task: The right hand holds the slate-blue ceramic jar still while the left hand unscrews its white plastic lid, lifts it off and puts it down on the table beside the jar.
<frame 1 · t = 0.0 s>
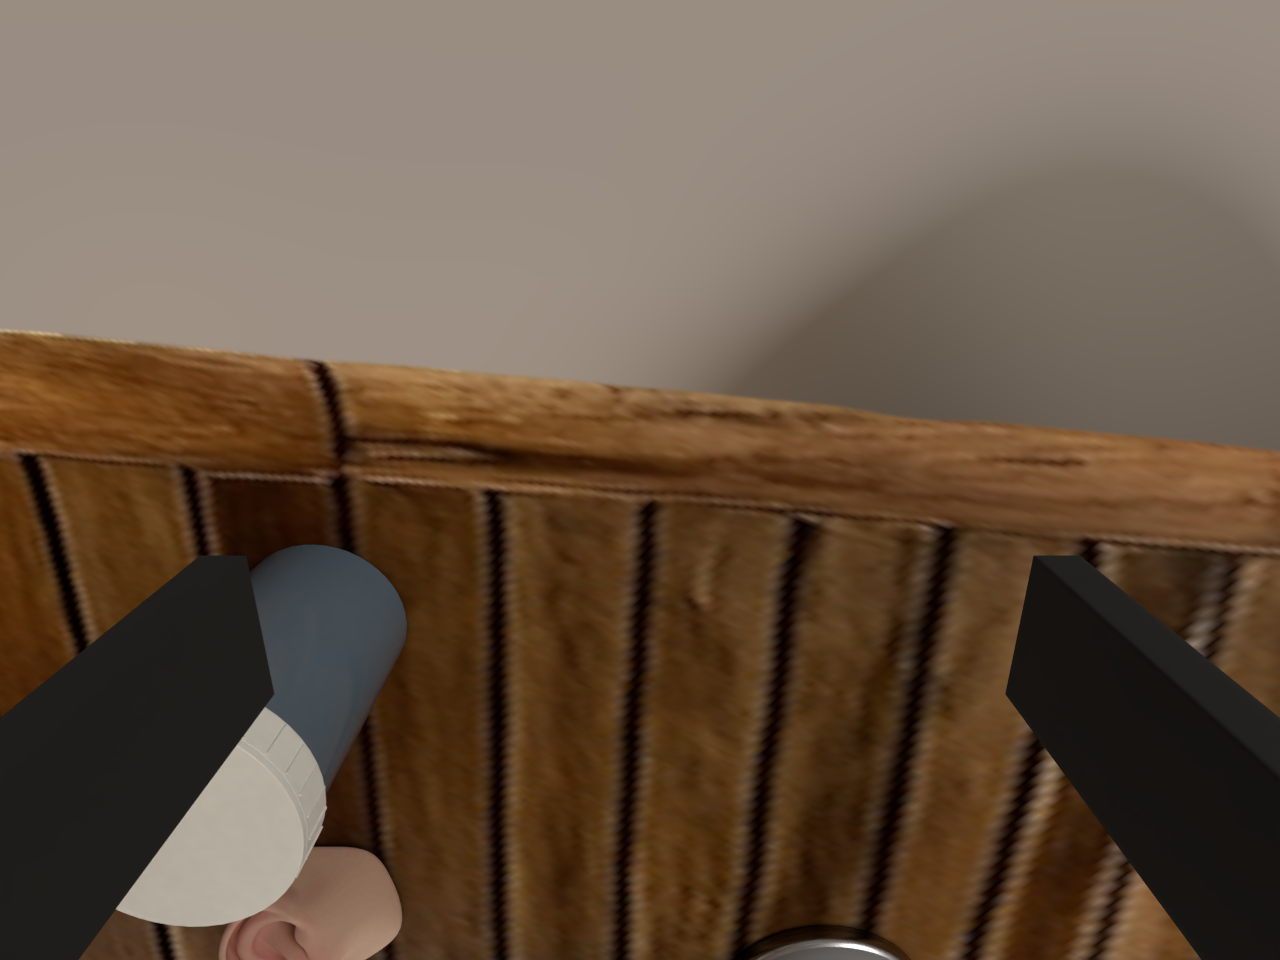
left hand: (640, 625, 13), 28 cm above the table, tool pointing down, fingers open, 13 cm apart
lid: (171, 821, 30), point 16 cm above the table, screwed on, not yet turned
anatomical model: (319, 908, 53), on the table
jar: (324, 618, 45), on the table
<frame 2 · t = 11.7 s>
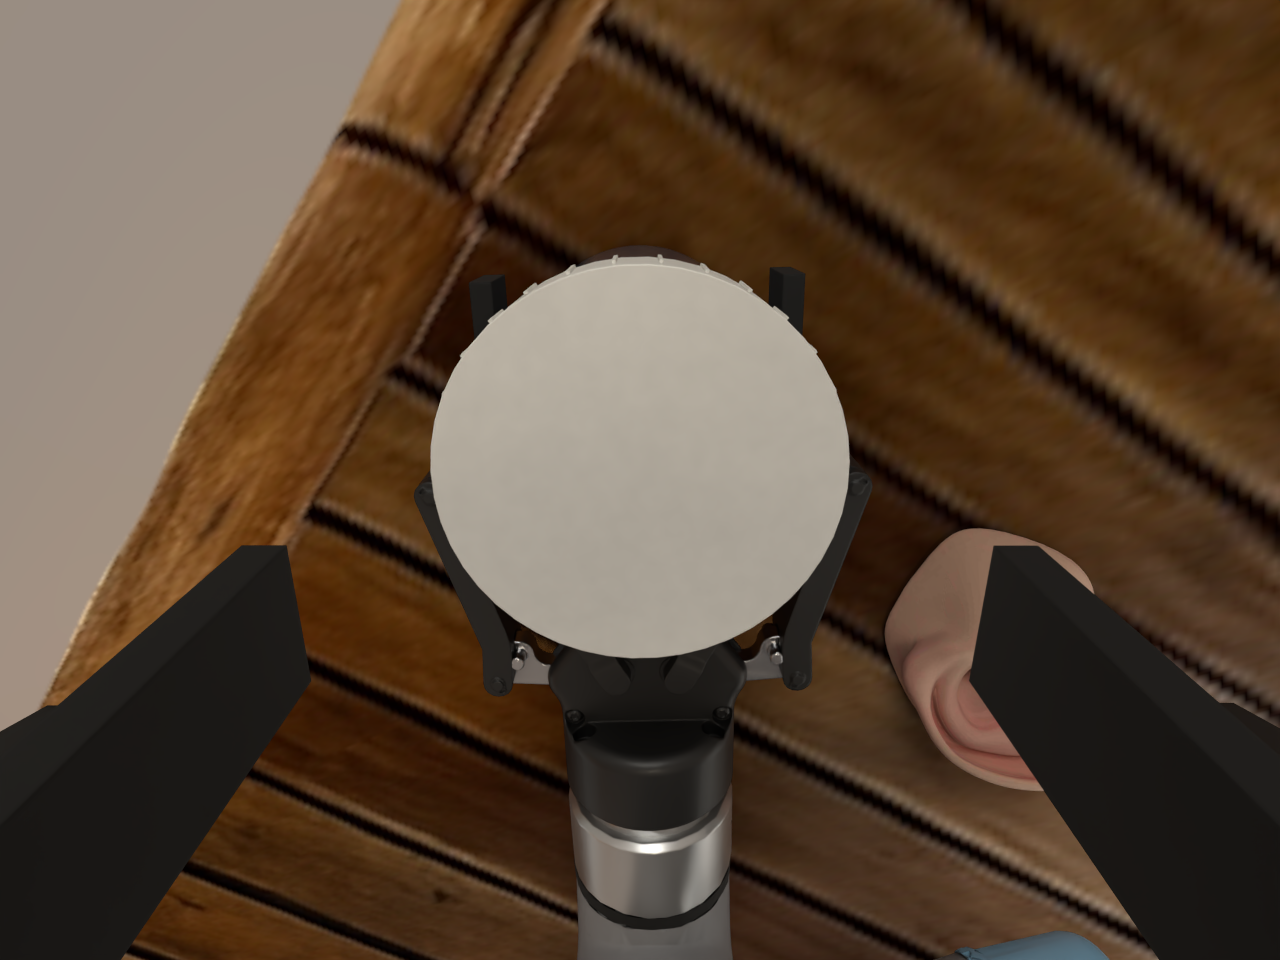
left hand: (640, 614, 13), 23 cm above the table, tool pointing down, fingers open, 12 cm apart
lid: (639, 475, 20), point 16 cm above the table, screwed on, not yet turned
anatomical model: (988, 642, 40), on the table
jar: (640, 358, 34), on the table, touching right hand
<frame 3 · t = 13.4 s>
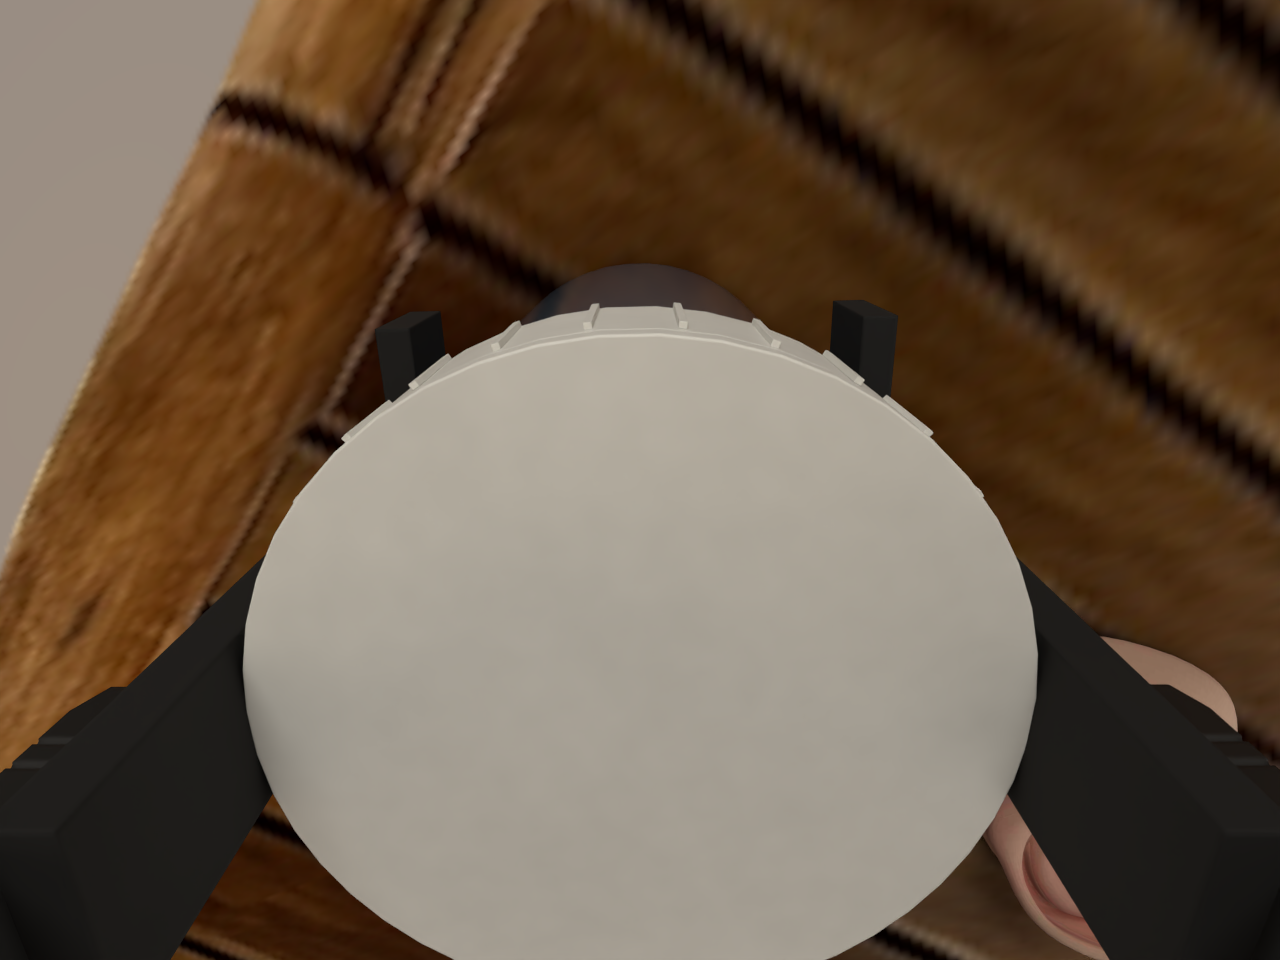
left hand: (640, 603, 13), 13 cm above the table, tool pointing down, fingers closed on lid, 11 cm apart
lid: (640, 711, 11), point 16 cm above the table, screwed on, not yet turned, touching left hand
anatomical model: (1092, 774, 31), on the table
jar: (640, 415, 25), on the table, touching right hand
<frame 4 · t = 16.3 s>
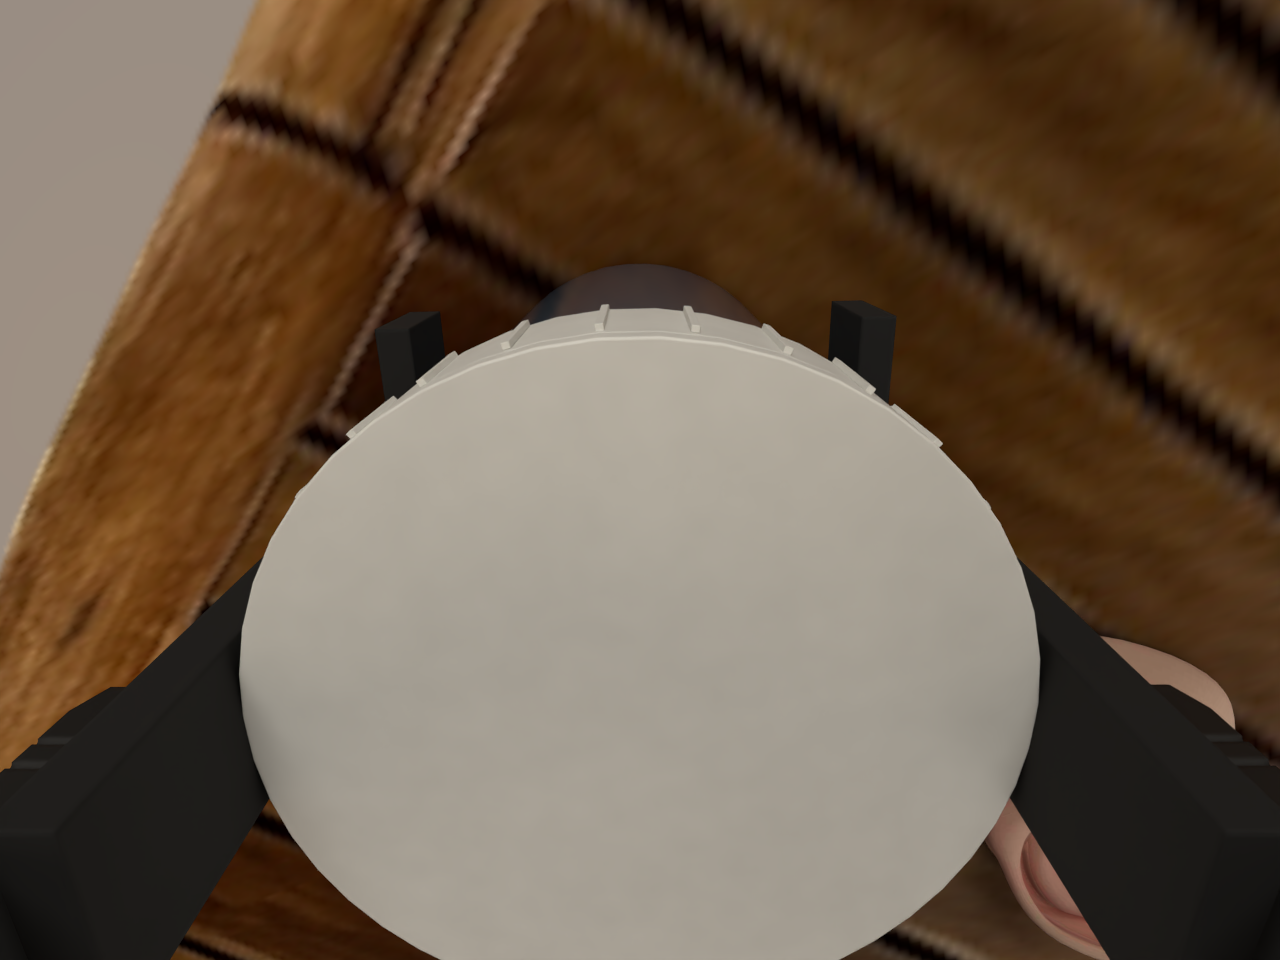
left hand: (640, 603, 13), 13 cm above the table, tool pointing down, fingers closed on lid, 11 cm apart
lid: (639, 716, 11), point 16 cm above the table, turned 82° so far, risen 0.1 cm, still on its thread, touching left hand
anatomical model: (1090, 773, 31), on the table
jar: (639, 415, 25), on the table, touching right hand
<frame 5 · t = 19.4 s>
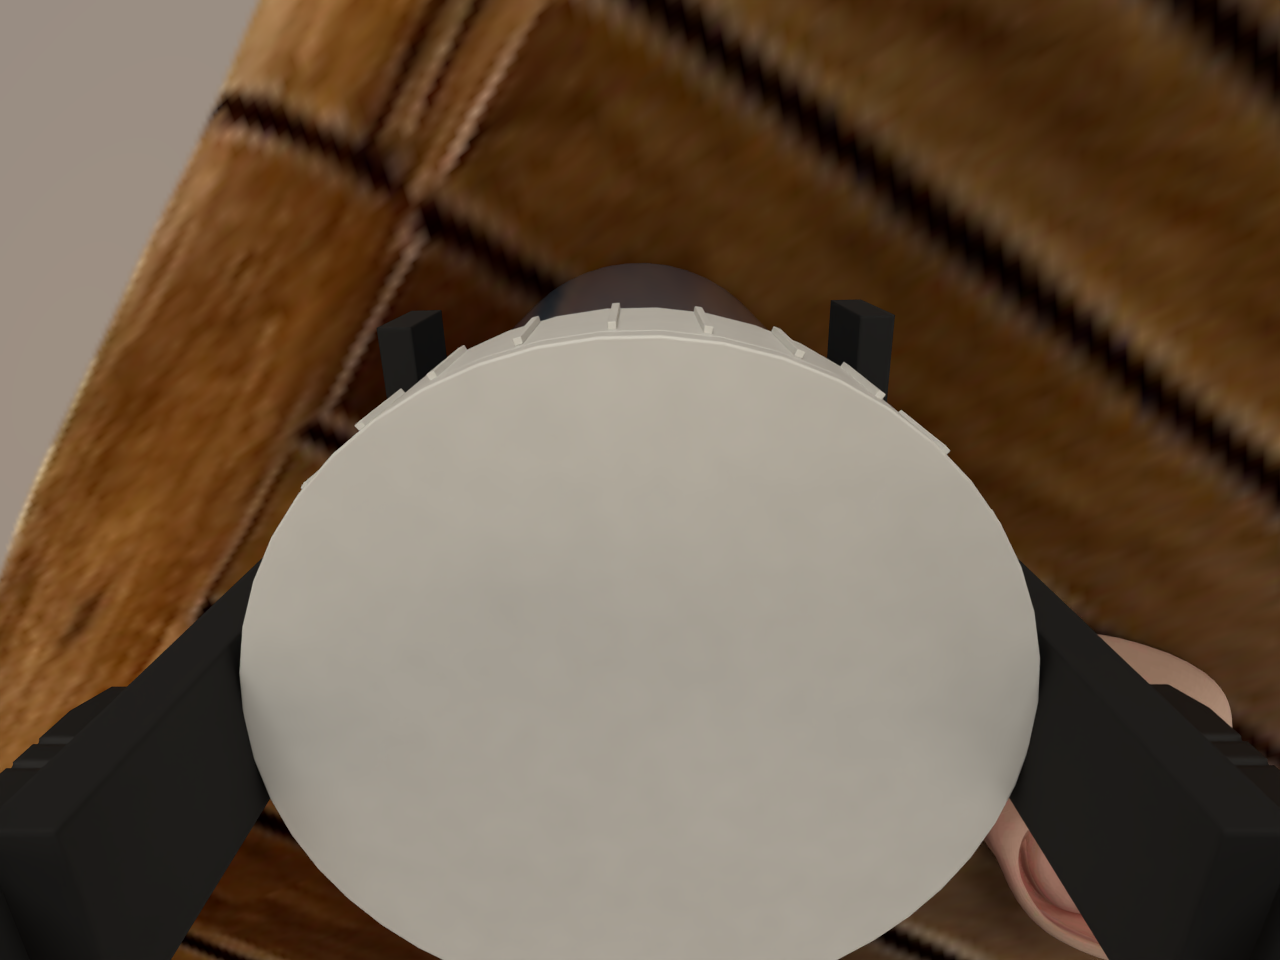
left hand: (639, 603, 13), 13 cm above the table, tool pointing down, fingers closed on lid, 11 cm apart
lid: (639, 715, 11), point 16 cm above the table, turned 165° so far, risen 0.2 cm, still on its thread, touching left hand
anatomical model: (1088, 771, 31), on the table
jar: (639, 414, 25), on the table, touching right hand
when the left hand's fingers open (0 cm above the table, at t = 34.5 s): lid drops 1 cm, point 2 cm above the table.
when the right hand's fingers open (7 cm above the table, at t = 35.5 s): jar stays where it is, on the table.
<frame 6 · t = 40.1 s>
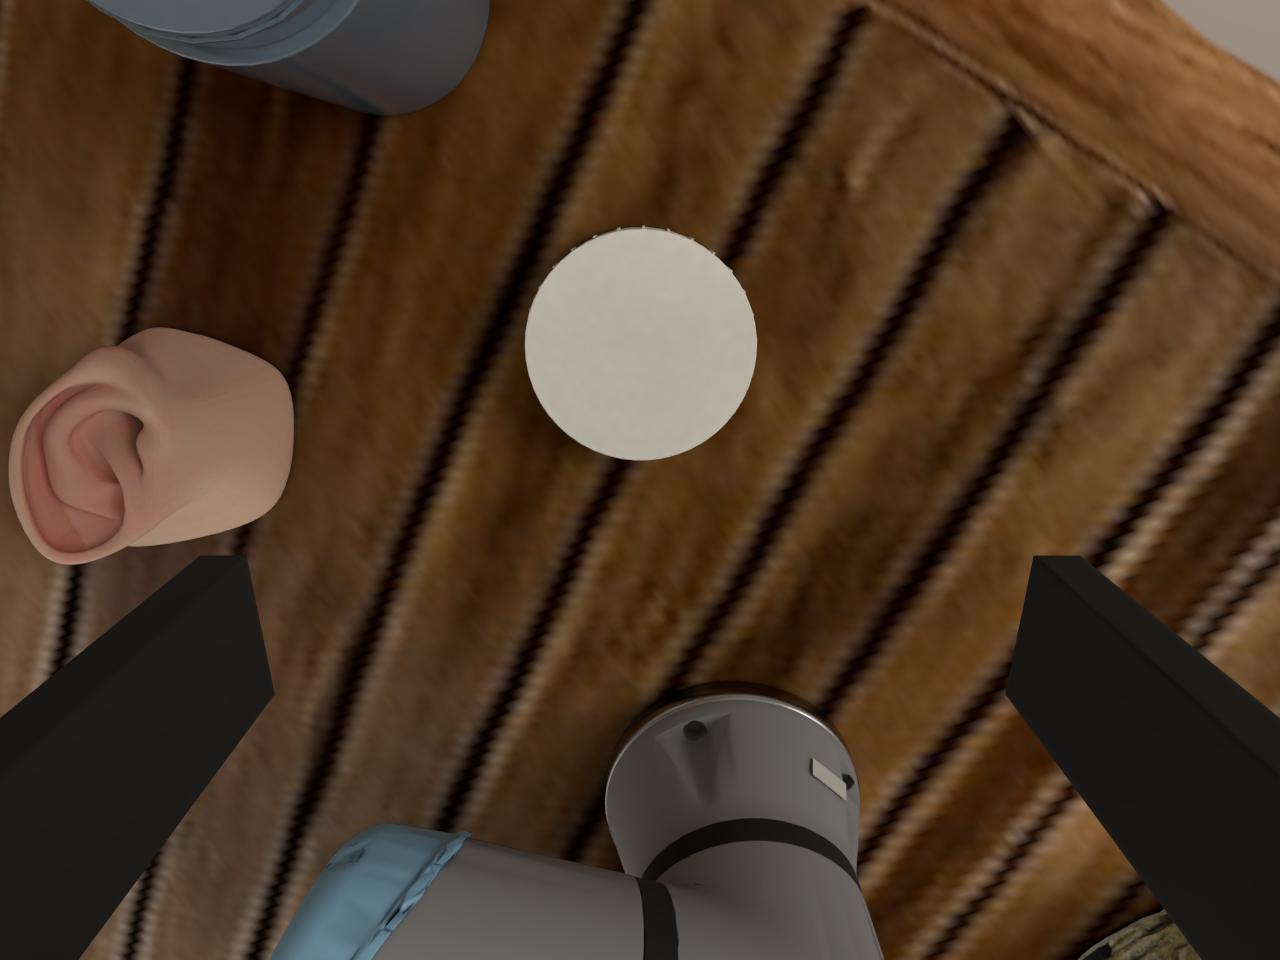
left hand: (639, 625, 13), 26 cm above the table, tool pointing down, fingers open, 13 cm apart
lid: (640, 349, 35), point 2 cm above the table, off its thread
anatomical model: (176, 438, 39), on the table
fossil: (1161, 943, 52), on the table
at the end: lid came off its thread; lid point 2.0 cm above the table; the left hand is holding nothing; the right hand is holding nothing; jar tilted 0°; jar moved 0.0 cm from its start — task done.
